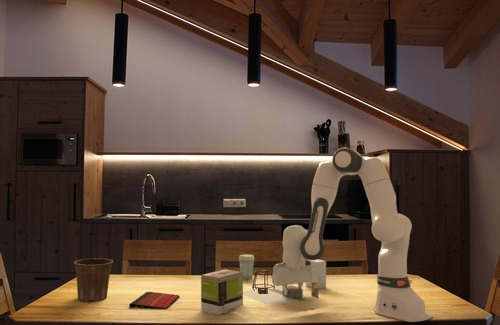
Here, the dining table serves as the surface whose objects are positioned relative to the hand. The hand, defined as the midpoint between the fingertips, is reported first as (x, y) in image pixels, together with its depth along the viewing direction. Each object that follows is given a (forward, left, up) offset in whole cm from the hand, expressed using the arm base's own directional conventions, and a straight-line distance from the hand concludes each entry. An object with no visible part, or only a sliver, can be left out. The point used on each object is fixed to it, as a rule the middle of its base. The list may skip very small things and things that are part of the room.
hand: (292, 293), depth 202 cm
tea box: (+2, +34, -3) cm, 34 cm away
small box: (+14, -25, -3) cm, 29 cm away
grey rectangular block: (0, 0, -1) cm, 1 cm away
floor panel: (+5, +6, -3) cm, 8 cm away
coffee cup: (+48, -5, -3) cm, 48 cm away
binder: (+26, +53, -3) cm, 59 cm away
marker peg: (-2, -11, -3) cm, 11 cm away
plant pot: (+45, +75, -3) cm, 88 cm away
